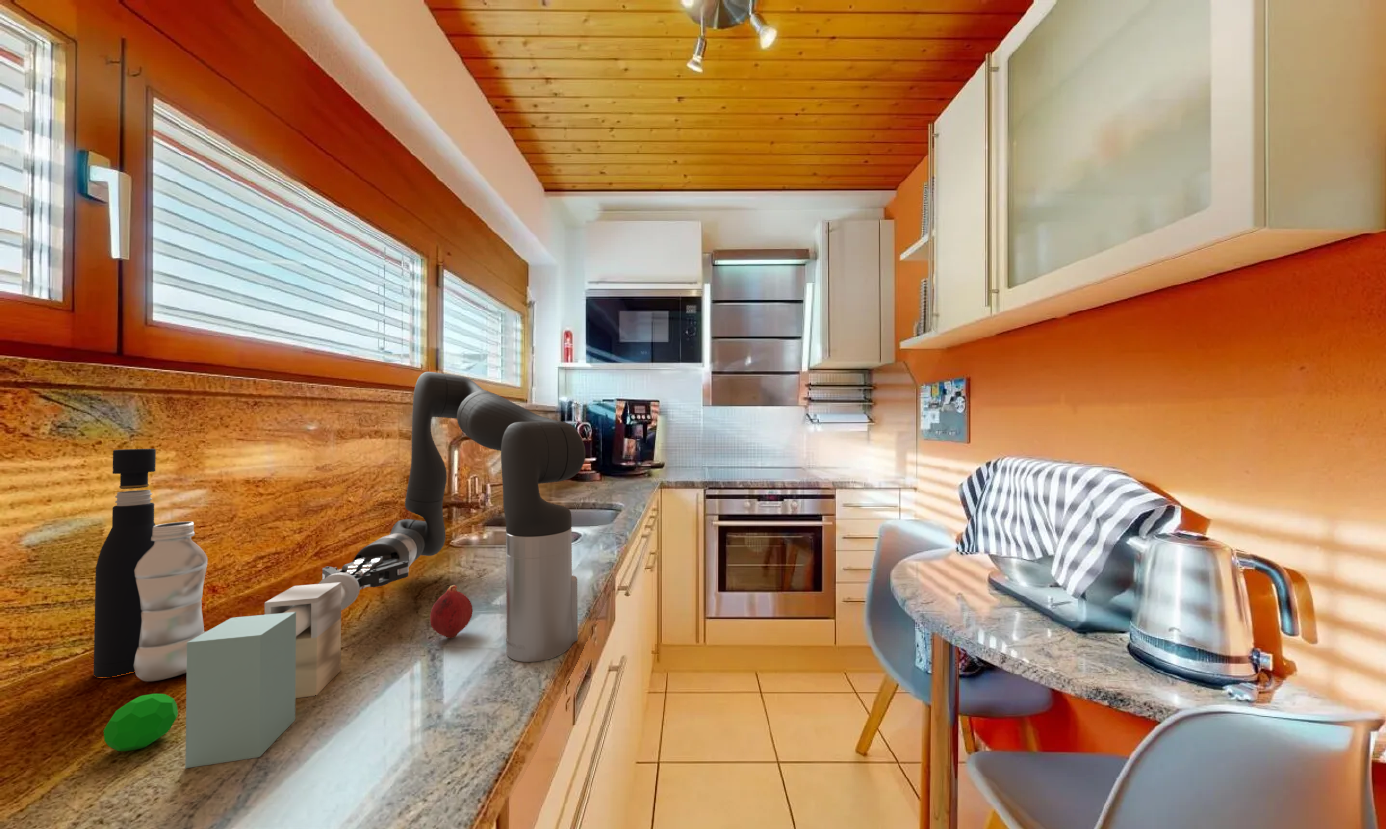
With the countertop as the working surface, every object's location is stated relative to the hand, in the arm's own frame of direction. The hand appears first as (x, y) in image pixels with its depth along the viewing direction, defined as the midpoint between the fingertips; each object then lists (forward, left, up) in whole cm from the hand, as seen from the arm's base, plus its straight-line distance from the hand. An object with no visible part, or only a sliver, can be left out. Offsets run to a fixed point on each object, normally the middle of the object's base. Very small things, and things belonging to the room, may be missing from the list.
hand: (339, 590), depth 68 cm
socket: (+13, +15, -9) cm, 22 cm away
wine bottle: (+18, -19, -9) cm, 28 cm away
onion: (-12, +9, -9) cm, 17 cm away
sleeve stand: (+6, +7, -9) cm, 13 cm away
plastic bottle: (+15, -11, -9) cm, 21 cm away
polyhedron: (+19, +7, -9) cm, 22 cm away
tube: (+6, +7, -3) cm, 9 cm away
